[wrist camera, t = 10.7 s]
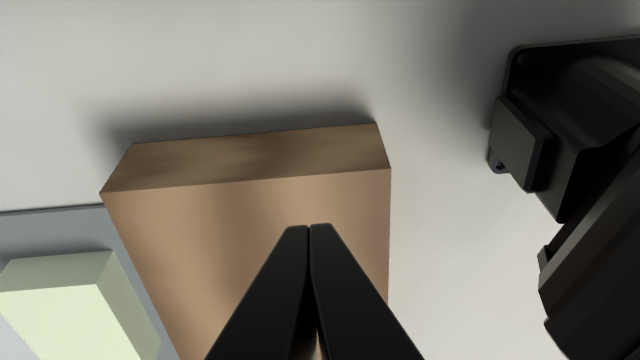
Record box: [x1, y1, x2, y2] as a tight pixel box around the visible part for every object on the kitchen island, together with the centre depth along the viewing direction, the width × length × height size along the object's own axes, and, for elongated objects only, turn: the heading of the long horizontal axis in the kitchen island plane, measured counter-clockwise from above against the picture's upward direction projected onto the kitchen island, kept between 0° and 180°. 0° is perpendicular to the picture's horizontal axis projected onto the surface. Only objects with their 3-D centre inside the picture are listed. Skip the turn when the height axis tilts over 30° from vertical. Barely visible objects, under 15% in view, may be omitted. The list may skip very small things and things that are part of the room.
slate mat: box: [0, 204, 180, 360], centre depth 27 cm, size 11×15×1 cm
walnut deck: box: [99, 123, 391, 360], centre depth 25 cm, size 12×22×4 cm, turn 5°
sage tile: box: [0, 250, 161, 360], centre depth 25 cm, size 6×9×2 cm, turn 5°
